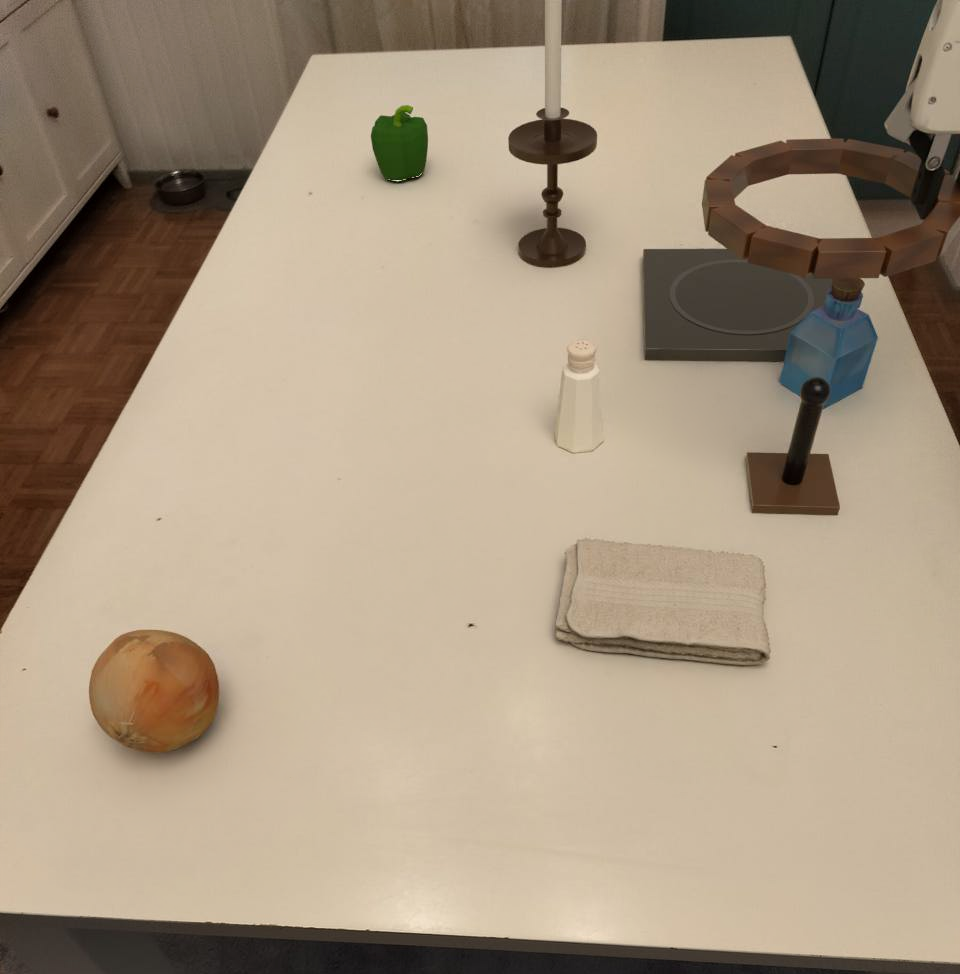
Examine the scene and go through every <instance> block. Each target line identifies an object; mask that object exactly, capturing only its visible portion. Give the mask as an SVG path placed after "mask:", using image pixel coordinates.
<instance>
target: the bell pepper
mask: <svg viewBox="0 0 960 974" xmlns="http://www.w3.org/2000/svg"><path fill="white" fill-rule="evenodd" d="M413 111H414V107H413V106H411V105H408V104H407V105H406V104H405V105H401V106H399V107H398V108H397V109H396V110H395V112H394V114H393V115H379V116H378V117H377V119H376V120H375V121H374V125H373V126H372V128H371V133H370V140H371V146H372V152H373V155H374V157H375V160H376V163H377V166H378V168H379V171H380V174H381V175H382V176H383V177H384V178H385V177H386V178H387V179H390V180H403V179H406V178H412V177H416V176H419V175H420V174H421V173H422V174H423V173H424V172H425V170H426V164H427V159H428V158H427V157H428V150H429V149H428V148H429V132H428V125H427V123H426V121H425V118H424V117H421V116H411V115H412V114H413V113H412V112H413ZM386 178H385V179H386ZM387 179H386V180H387ZM406 180H407V179H406Z"/></svg>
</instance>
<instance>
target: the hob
mask: <svg viewBox="0 0 960 974" xmlns="http://www.w3.org/2000/svg"><path fill="white" fill-rule="evenodd" d="M747 261H748V258H747V259H744V260H742V259H740V258H739V257H738V256H736V255H735V254H734V253H732V252H731V251H729V250H728V249H727V248H643V251H642V302H643V303H642V304H643V305H642V306H643V350H644V351H643V356H644V359H643V360H644V361H706V362H707V361H713V362H718V361H721V362H723V361H724V362H725V361H726V362H784V360H785V356H786V351H787V347H788V343H789V338H790V334H791V332H792V331H793V330H794V329H795V328H796V327H797V326H798V325H799V324H800V323H801V322H802V321H803V320H804V319H805V318H806V317H807V316H808V315H809V314H810V313H811V312H812V311H815V310H817V309H819V308H821V307H823V306H825V305H826V304H825V300H826V296H827V292H828V290H829V289H830V288H832V280H833V279H813V276H812V273H810V274H809V275H808V276H807V277H806V278H805V277H801V276H797V275H793V274H789V273H786V272H782V271H778V270H774V269H770V268H767V267H763V266H759V265H755V264H751V263H748V262H747Z"/></svg>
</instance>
